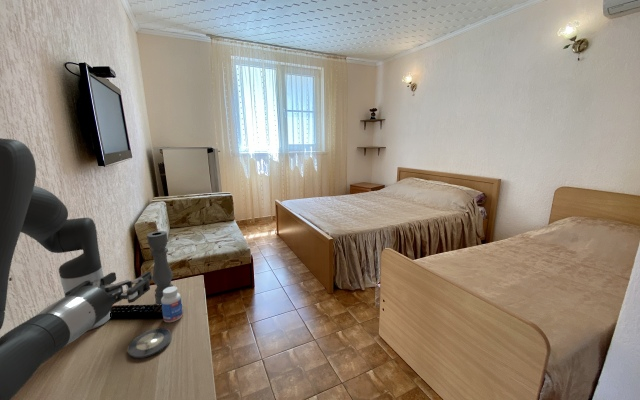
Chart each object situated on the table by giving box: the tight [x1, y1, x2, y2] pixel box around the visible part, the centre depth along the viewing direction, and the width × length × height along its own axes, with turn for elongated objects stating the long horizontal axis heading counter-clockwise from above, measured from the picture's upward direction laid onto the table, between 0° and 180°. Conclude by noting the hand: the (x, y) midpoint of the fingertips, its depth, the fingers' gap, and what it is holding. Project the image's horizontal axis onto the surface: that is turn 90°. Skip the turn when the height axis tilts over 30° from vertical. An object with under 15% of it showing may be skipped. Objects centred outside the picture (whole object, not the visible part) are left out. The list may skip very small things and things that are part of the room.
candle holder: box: [146, 230, 174, 305], centre depth 89 cm, size 6×6×25 cm
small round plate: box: [127, 327, 172, 359], centre depth 72 cm, size 10×10×1 cm
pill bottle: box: [161, 285, 183, 323], centre depth 82 cm, size 6×5×10 cm
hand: (132, 275), depth 64 cm, fingers open, 8 cm apart
